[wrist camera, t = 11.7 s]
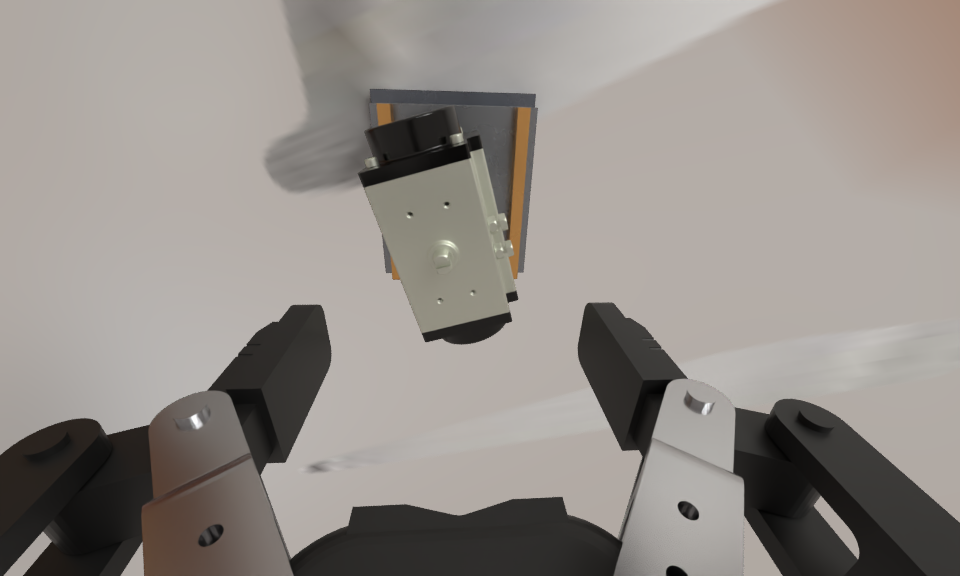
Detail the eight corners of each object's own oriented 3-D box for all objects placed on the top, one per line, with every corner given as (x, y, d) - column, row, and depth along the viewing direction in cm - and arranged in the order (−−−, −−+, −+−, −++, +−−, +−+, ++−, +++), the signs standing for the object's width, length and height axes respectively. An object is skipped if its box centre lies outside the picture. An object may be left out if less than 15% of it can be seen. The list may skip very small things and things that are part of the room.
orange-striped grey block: (372, 89, 31) (337, 83, 22) (533, 94, 32) (566, 90, 23) (388, 255, 38) (366, 307, 29) (519, 255, 39) (541, 305, 30)
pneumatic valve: (442, 276, 29) (431, 377, 19) (390, 122, 24) (333, 139, 13) (509, 259, 29) (537, 353, 18) (471, 98, 24) (480, 97, 13)
